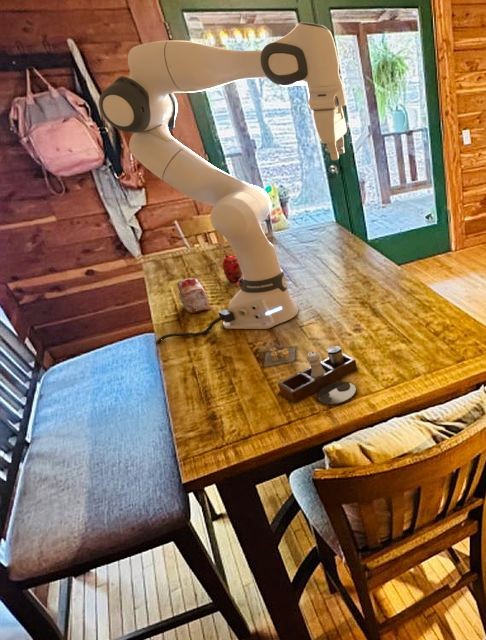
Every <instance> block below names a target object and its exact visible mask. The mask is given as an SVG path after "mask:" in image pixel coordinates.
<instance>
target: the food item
mask: <svg viewBox="0 0 486 640" xmlns="http://www.w3.org/2000/svg"><path fill="white" fill-rule="evenodd" d="M177 288H178V290H177V293H178V297H179V300H180V301H181V304H182V306H183V307H184V309H185V310H186V311H187V312H189V313H190V314H194V313H195V314H196V313H200V312H205V311H208V310H210V309H211V307H210V301H209V298H208V296H207V292H206V291H205V289H204V287H203V285H202V284H201V282H200V281H199V280H198V279H197V278H194V277H191V278H189V277H188V278H184V279H181V280H179V281H178V282H177ZM196 310H197V311H196ZM191 311H192V312H191Z"/></svg>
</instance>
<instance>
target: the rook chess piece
mask: <svg viewBox="0 0 486 640" xmlns="http://www.w3.org/2000/svg"><path fill="white" fill-rule="evenodd" d="M320 358H321V354H320V353H319V352H318V351H314V350H313V351H311V352H308V354H307V357H306V360H307V361H308V364H309V366H310V367H311V370H312V373H311V376H310V377H312V378H313V379H315V378H317V377H319V376H321V375H323V374H325V373H327V372H326V371H325V370H323V368H322V366H321V361H322V360H321V359H320Z"/></svg>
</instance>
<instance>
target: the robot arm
mask: <svg viewBox="0 0 486 640" xmlns="http://www.w3.org/2000/svg"><path fill="white" fill-rule="evenodd" d="M127 65H128V68H129V76H124V75H121V76H119V77H117V79H115V80H114V82H112V83H111V84H110V85H108V86H107V87H106V88H105V89H103V91H102V92H101V94H100V95H99V98H98V107H99V111H100V113H101V115H102V117H103V119H104V120H105V121H106V122H107V123H108V124H109V125H110V126H112V127H113V128H115V129H117V130H118V131H121V132H124V133H130V134H132V135H131V136H130V139H129V143H128V149H129V151H130V154H131V156H132V157H134V158H135V160H137V161H138V162H139V163H140V164H141V165H142V166H143V167H145V168H146V169H147V170H148V171H149V172H151V173H152V174H153V175H155V177H157V178H159V179H160V180H161V181H163V182H164V183H166V184H167V185H169V186H170V187H172V188H173V189H175V190H176V191H178V192H179V193H181V194H182V195H184V196H185V197H187V198H188V199H190V200H192V201H195V202H199V203H203V204H205V205H209V206H211V207H212V209H211V211H210V214H209V215H210V216H209V220H210V223H211V226H212V228H213V230H215V232H216V233H218V234H219V235H220V236H222V237H224V238H225V241H226V242H227V243H228V244H229V246H230V248H231V250H232V251H233V253H234V256H236V258H237V260H238V263H239V266H240V269H241V272H242V275H241V278H240V279H239V280H238V281H237V282H236V285H237V287H238V288H239V287H240V290H238V291H237V292H236V293H235V295H234V296H233V297H232V298H231V299H230V301H229V302H228V304H227V309H226V308H224V309H222V310H220V311H217V313H218V316H219V317H218V318H216V319H214V320H213V321H212V322H210V324H209V325H208V327H207V328H205V329H204V330H202V331H198V332H191V331H190V332H189V331H188V332H175V333H174V332H173V333H167V334H164V335H162V336H161V337H159V338H158V339H159V340H158V339H157V340H156V343H155V344H156V345H159V344H161V343H162V342H163V341H164V340H166V339H167V338H175V337H188V336H191V337H198V336H202V335H205V334H207V333H208V332H210V331H211V330H212V329H213V328H214V325H216V324H217V323H219V322H220V321H223V328H224V329H231V330H232V329H233V330H234V329H238V330H240V329H241V330H253V329H254V330H268V329H271V328H273V327H275V326H277V325H279V324H282V323H285V322H287V321H289V320H292V319H293V318H294V317H296V316H297V315H298V313H299V309H298V307H297V306H296V304H295V302H294V300H293V298H292V296H291V294H290V292H289V290H288V283H287V278H286V276H285V273H284V270H283V269H282V268H281V265H280V261H279V259H278V255H277V252H276V251H277V250H276V248H275V246H274V244H273V243H271V242H270V241H269V239H268V237H267V236H266V234H265V232H264V230H263V227H262V223H263V222H264V221H266V219H268V216H269V215H270V213H271V208H272V200H271V198H270V196H269V194H268V192H267V191H266V190H265V189H263V188H261V187H260V186H257V185H253V184H249V183H248V182H246V181H243V180H241V179H239V178H237V177H235V176H233V175H231V174H229V173H227V172H225V171H223V170H221V169H219V168H217V167H216V166H214V165H213V164H211V163H210V162H208V161H207V160H205V159H204V158H202V157H201V156H199V155H198V154H197V153H196V152H194V151H192V150H191V149H190V148H188V147H187V146H185V145H184V144H182V143H181V142H180V141H178V140H177V139H175V138H174V136H172V135H171V133H170V132H172V131H173V130H174V129H175V121H176V117H177V114H178V101H177V98H176V96H175V94H177V93H179V94H181V93H198V92H203V91H209V90H211V89H215V88H219V87H222V86H224V85H228V84H230V83H233V82H238V81H242V80H252V79H254V80H255V79H268V80H269V81H271V83H273V84H275V85H277V86H281V87H293V86H306V89H307V95H308V100H307V105H308V109H309V111H312V118H313V121H314V125H315V129H316V132H317V136H318V139H319V141H320V143H321V144H326V147H327V150H328V152H329V155H330V160H332V161H339V158H340V155H344V154H345V152H346V151H345V138H344V135H346V133H347V132H348V130H347V128H348V127H347V124H346V119H345V114H344V110H343V107H344V106H346V105H347V101H346V96H345V90H344V84H343V81H342V79H341V76H340V61H339V56H338V52H337V48H336V43H335V39H334V36H333V34H332V32H331V31H330V29H329V28H328V27H327V26H325V25H323V24H319V23H313V22H307V21H306V22H304V21H302V22H301V21H300V22H298V23H297V24H296V25H295V27H294V28H293V29H292V30H290V32H288V33H287V34H286V35H283V36H282V37H280V38H278V39H276V40H274V41H272V42H269V43H267V44H265V46H264V47H263V48H262V50H235V49H228V48H224V47H219V46H214V45H210V44H206V43H201V42H196V41H189V40H179V39H178V40H177V39H176V40H175V39H173V40H171V39H170V40H168V39H167V40H158V41H150V42H146V43H141V44H138V45H135V46H133V47H131V49H130V50H129V51H128V55H127ZM161 339H162V340H161Z"/></svg>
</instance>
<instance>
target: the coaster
mask: <svg viewBox="0 0 486 640" xmlns="http://www.w3.org/2000/svg"><path fill="white" fill-rule="evenodd" d="M356 394H357V387H356V386H355V384H353V383H352V382H349V381H338V382H333V383H331V384H329V385H327V386H326V387H324V388H322V389H320V390H319V392H318V395H317V399H318V401H319V403H321V404H323V405H325V406H338V405H342V404H345V403H347V402H349V401H350V400H352V399H353V398H354V397H355V395H356Z"/></svg>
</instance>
